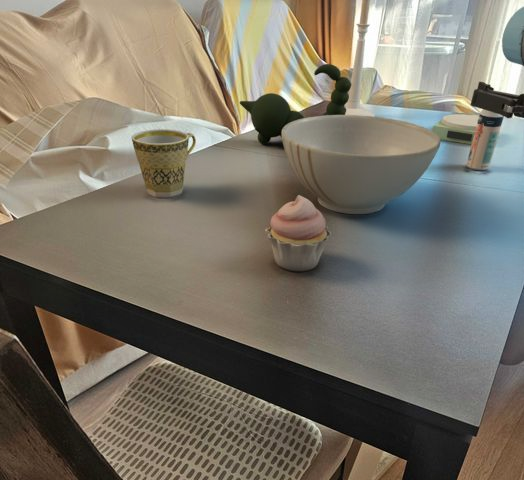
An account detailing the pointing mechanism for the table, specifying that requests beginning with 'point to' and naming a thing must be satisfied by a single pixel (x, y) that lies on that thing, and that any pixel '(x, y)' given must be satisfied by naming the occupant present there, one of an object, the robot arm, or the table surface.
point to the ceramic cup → (162, 160)
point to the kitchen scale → (457, 128)
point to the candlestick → (359, 67)
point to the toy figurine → (279, 113)
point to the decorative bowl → (358, 159)
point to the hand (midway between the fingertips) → (516, 91)
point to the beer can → (484, 140)
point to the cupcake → (298, 235)
